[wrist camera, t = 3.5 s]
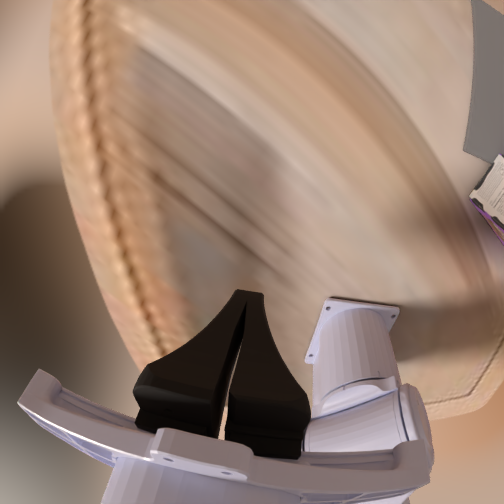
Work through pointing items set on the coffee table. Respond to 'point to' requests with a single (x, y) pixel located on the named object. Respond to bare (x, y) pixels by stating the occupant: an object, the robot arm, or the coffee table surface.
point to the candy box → (491, 197)
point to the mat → (486, 85)
